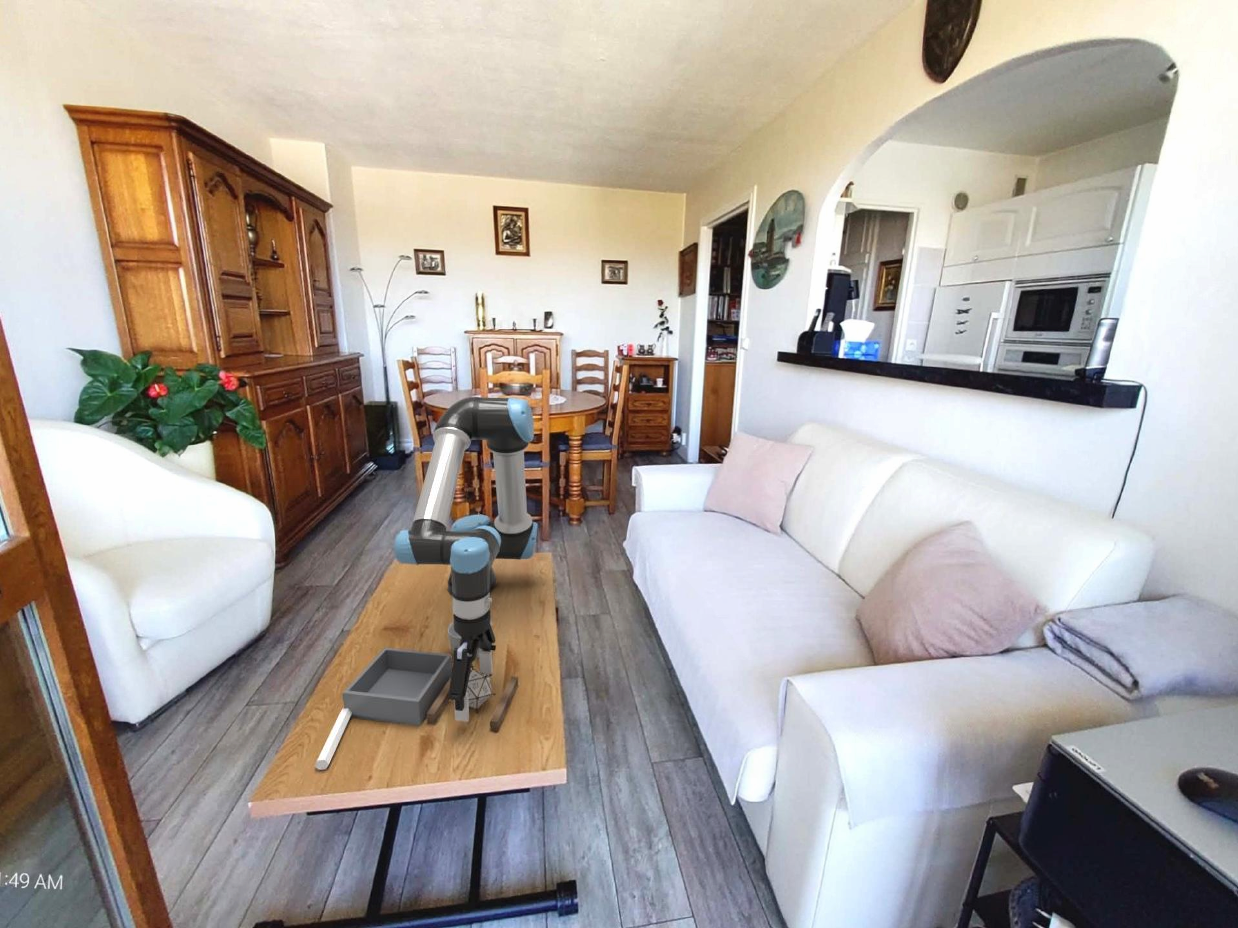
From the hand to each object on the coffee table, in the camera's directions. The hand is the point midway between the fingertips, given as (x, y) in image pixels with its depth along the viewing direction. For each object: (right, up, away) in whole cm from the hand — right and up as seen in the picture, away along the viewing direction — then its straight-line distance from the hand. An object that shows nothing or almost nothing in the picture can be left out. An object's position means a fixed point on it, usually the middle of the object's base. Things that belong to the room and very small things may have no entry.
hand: (474, 696), depth 108 cm
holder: (0, -2, 0) cm, 2 cm away
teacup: (-6, +3, +20) cm, 21 cm away
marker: (-25, -3, -10) cm, 27 cm away
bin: (-17, -1, +2) cm, 17 cm away
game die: (0, -2, +1) cm, 2 cm away
